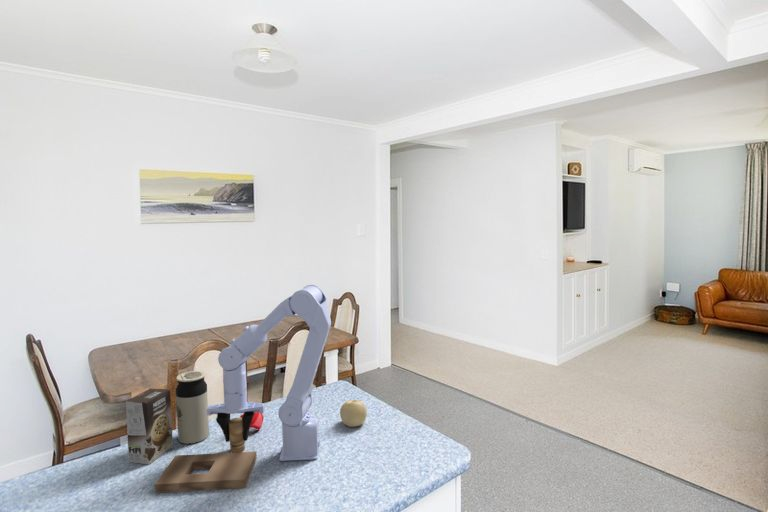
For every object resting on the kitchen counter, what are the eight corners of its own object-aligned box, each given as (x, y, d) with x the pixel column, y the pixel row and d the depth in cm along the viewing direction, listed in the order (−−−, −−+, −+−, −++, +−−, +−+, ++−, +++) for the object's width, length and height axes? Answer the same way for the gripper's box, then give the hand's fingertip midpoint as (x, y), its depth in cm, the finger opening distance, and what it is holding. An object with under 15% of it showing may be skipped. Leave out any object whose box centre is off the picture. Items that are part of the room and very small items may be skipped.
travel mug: (208, 428, 128) (205, 368, 127) (210, 440, 121) (207, 377, 120) (178, 434, 125) (175, 373, 123) (178, 447, 118) (175, 382, 116)
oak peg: (247, 445, 118) (245, 417, 118) (243, 453, 114) (242, 424, 114) (231, 446, 118) (230, 417, 117) (227, 454, 114) (226, 424, 113)
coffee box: (150, 465, 109) (146, 402, 108) (127, 462, 111) (124, 400, 109) (174, 446, 118) (171, 388, 117) (153, 444, 120) (150, 387, 118)
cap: (251, 410, 133) (236, 406, 128) (266, 407, 130) (251, 403, 126) (248, 438, 128) (232, 435, 124) (263, 436, 126) (247, 432, 121)
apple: (354, 432, 125) (341, 408, 125) (344, 432, 131) (331, 409, 132) (375, 416, 129) (362, 393, 130) (364, 417, 136) (352, 395, 136)
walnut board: (256, 458, 112) (256, 451, 112) (245, 487, 100) (245, 479, 100) (175, 463, 110) (175, 455, 110) (155, 492, 98) (154, 484, 98)
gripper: (266, 382, 119) (267, 430, 121) (211, 385, 118) (213, 433, 119) (261, 393, 112) (262, 443, 114) (203, 395, 111) (205, 446, 112)
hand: (237, 439), depth 116 cm, fingers closed on oak peg, 4 cm apart
